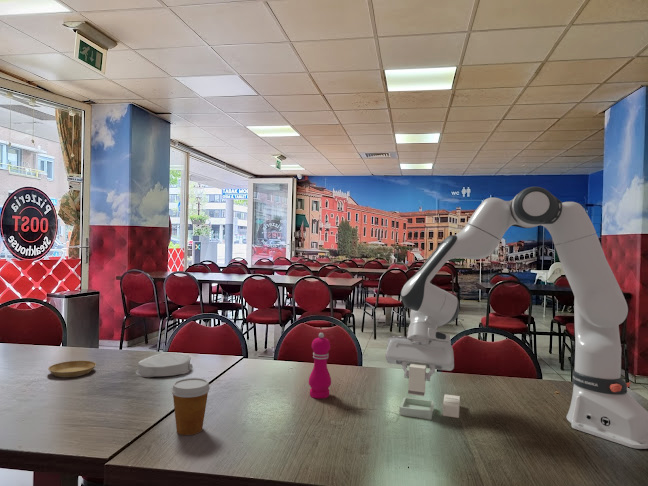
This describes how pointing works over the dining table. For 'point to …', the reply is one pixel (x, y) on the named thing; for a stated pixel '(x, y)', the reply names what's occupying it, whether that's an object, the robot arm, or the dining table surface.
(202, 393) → the disposable coffee cup
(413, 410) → the stub tray
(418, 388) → the stub
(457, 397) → the white grooved block
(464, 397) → the dining table surface
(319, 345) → the pepper mill
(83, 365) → the plant saucer
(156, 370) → the food container
